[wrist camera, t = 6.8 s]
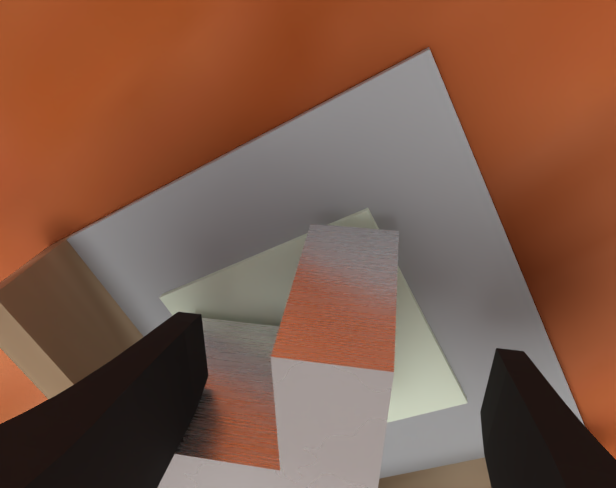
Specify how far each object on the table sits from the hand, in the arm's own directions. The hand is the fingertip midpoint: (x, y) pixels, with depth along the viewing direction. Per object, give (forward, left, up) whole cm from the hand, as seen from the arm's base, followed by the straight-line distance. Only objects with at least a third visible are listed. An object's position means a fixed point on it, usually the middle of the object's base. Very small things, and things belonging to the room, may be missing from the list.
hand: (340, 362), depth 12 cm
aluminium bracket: (-2, +1, -2) cm, 3 cm away
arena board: (-2, -2, -3) cm, 4 cm away
